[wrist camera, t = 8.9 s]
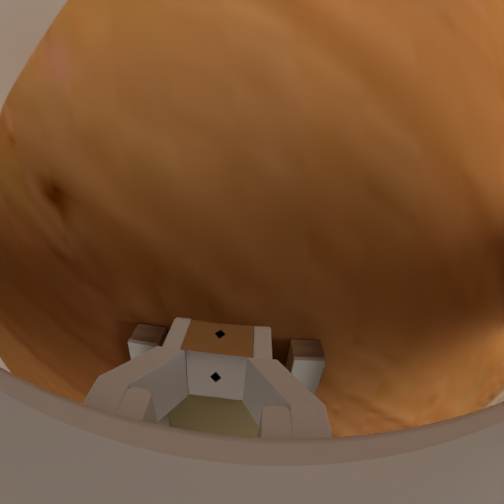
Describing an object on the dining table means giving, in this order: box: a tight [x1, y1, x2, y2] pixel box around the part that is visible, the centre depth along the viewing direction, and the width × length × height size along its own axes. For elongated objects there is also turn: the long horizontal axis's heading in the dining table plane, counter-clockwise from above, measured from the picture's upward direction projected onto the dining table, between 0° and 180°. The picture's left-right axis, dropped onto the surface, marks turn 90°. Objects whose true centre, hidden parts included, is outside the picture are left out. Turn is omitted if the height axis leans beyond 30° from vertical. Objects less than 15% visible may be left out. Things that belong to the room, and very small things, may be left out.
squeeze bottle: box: [167, 394, 259, 437], centre depth 22 cm, size 8×8×18 cm
